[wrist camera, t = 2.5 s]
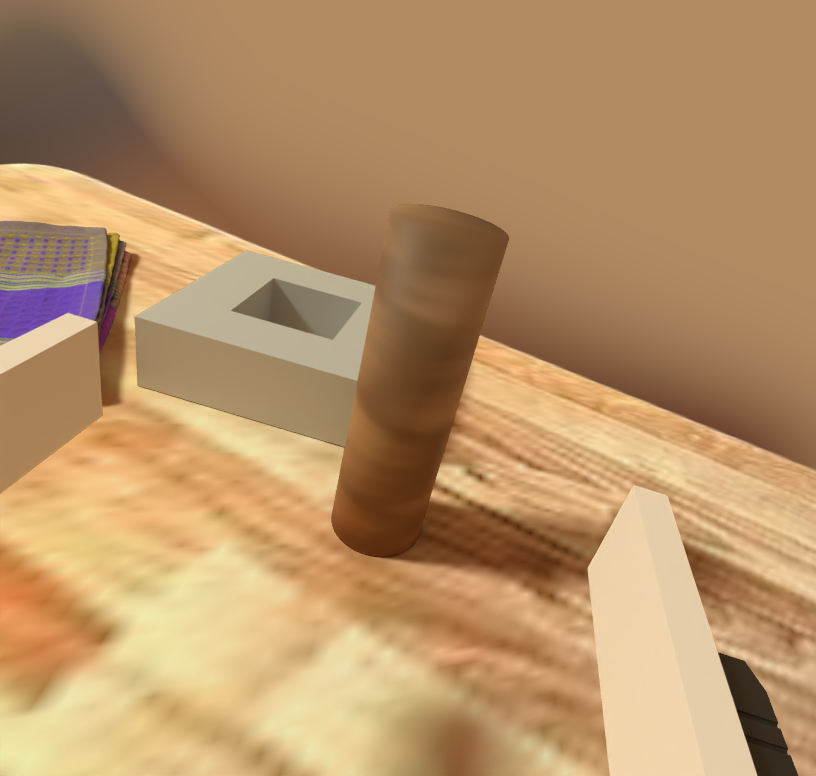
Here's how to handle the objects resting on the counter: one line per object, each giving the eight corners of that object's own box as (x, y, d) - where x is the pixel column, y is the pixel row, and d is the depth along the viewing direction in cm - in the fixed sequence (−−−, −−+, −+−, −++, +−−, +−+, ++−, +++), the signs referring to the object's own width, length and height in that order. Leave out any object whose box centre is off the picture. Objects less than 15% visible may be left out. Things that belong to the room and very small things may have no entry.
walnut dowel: (426, 506, 30) (511, 225, 22) (409, 568, 26) (505, 255, 18) (346, 482, 30) (403, 196, 22) (318, 540, 26) (376, 220, 19)
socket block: (410, 351, 44) (423, 299, 42) (363, 452, 32) (378, 387, 30) (243, 304, 45) (247, 250, 43) (137, 385, 33) (134, 316, 31)
